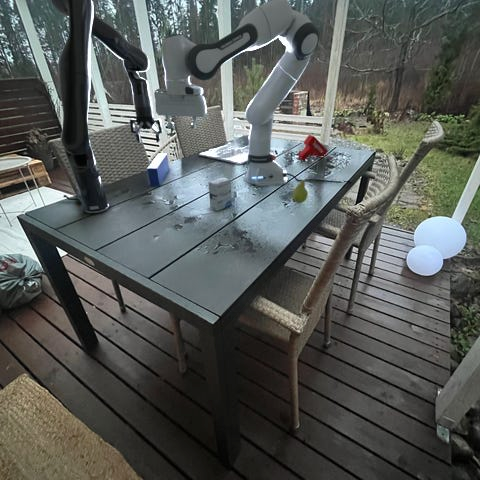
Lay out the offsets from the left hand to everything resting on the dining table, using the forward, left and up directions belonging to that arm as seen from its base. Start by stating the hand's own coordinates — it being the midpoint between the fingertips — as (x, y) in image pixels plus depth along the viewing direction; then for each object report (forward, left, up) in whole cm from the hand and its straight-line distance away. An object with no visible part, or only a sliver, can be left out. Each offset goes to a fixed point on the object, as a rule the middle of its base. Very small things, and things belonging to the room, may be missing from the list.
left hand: (149, 142), depth 131 cm
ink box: (+45, -12, -21) cm, 51 cm away
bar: (-4, +8, -21) cm, 23 cm away
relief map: (+13, +63, -21) cm, 68 cm away
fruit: (+75, +7, -21) cm, 78 cm away
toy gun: (+66, +76, -21) cm, 102 cm away
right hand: (+28, -10, +10) cm, 31 cm away
